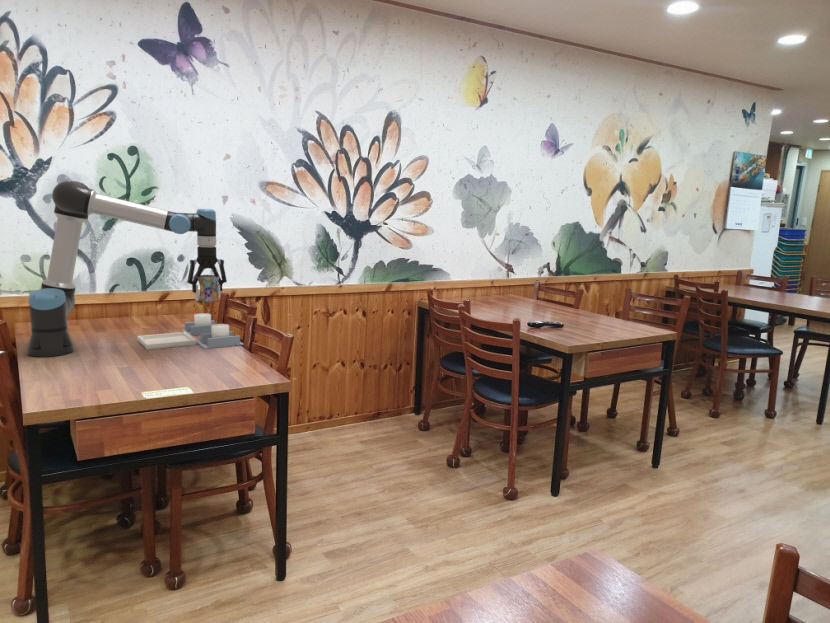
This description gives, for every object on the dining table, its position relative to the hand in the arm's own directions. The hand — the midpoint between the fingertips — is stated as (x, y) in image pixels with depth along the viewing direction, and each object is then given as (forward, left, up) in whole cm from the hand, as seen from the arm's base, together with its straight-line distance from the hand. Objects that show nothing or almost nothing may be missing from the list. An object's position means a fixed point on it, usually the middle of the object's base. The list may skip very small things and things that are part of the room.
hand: (207, 299), depth 259 cm
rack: (+1, 0, -17) cm, 17 cm away
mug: (0, 0, -1) cm, 1 cm away
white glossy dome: (+1, +12, -17) cm, 21 cm away
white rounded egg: (+1, -13, -17) cm, 21 cm away
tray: (-17, -1, -17) cm, 24 cm away
